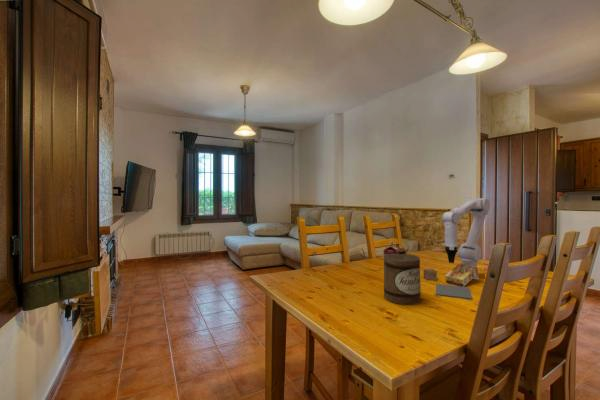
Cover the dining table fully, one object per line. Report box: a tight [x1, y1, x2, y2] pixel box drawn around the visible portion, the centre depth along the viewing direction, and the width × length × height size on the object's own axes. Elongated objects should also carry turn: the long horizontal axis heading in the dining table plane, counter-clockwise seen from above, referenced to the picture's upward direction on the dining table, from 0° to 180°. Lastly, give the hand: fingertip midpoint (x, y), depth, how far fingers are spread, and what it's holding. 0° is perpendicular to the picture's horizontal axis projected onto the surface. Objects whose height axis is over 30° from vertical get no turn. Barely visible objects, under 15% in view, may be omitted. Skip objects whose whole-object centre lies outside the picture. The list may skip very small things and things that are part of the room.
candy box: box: [444, 262, 479, 287], centre depth 142 cm, size 9×4×15 cm
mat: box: [435, 283, 473, 301], centre depth 129 cm, size 16×14×1 cm
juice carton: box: [383, 241, 400, 257], centre depth 135 cm, size 7×7×22 cm
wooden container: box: [383, 247, 422, 306], centre depth 121 cm, size 15×15×22 cm
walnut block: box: [423, 268, 438, 282], centre depth 149 cm, size 5×5×5 cm
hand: (451, 261), depth 143 cm, fingers open, 4 cm apart
